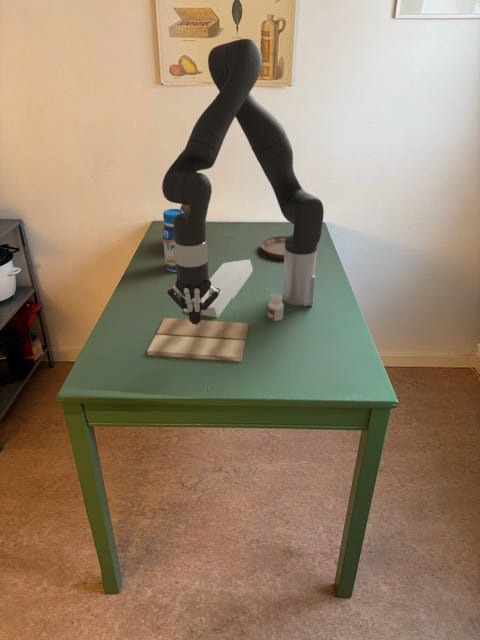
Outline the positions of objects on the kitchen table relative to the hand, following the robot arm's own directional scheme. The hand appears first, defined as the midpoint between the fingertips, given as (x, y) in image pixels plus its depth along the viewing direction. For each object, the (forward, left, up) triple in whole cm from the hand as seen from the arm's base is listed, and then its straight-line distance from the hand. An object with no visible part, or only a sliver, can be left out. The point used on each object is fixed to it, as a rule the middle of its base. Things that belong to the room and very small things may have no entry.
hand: (195, 322), depth 126 cm
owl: (+17, -70, -10) cm, 73 cm away
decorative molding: (0, -35, -11) cm, 37 cm away
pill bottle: (-19, -20, -10) cm, 29 cm away
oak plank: (0, -1, -9) cm, 9 cm away
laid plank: (0, -10, -10) cm, 14 cm away
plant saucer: (-19, -69, -10) cm, 72 cm away
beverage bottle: (+17, -51, -10) cm, 55 cm away
